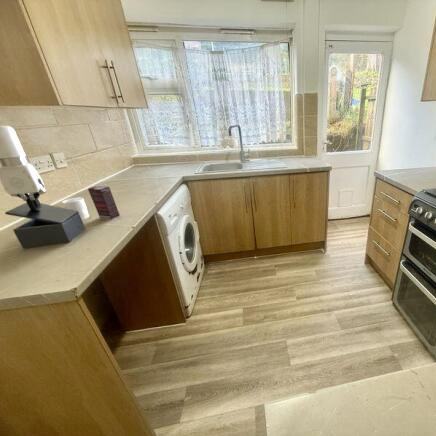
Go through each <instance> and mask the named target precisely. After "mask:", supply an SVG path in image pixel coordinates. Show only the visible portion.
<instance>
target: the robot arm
mask: <svg viewBox="0 0 436 436" xmlns="http://www.w3.org/2000/svg"><path fill="white" fill-rule="evenodd" d="M0 183H1V185H2V187H3V190H4V191H5V193H6V194H7V195H10V196H11V197H15V198H20V199H21V200H23V202H25V203H27V204H28V206H29V208H30V210H31V211H32V210H38V209H40V208H41V204H40V203H41V202H40V201H39V198H40V196H41V195H44V194H46V193H47V190H46V186H45V183H44V180H43V179H42V177H41V176H40V174H39V172H38V171H37V169H36V167H34V165H33V164H32V163H31V162H30V161H29V159H28V157H27V154H26V153H25V151H24V148H23V146H22V144H21V142H20V139H19V137H18V135H17V133H16V130H15V128H13V127H12V126H10V125H0Z"/></svg>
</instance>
